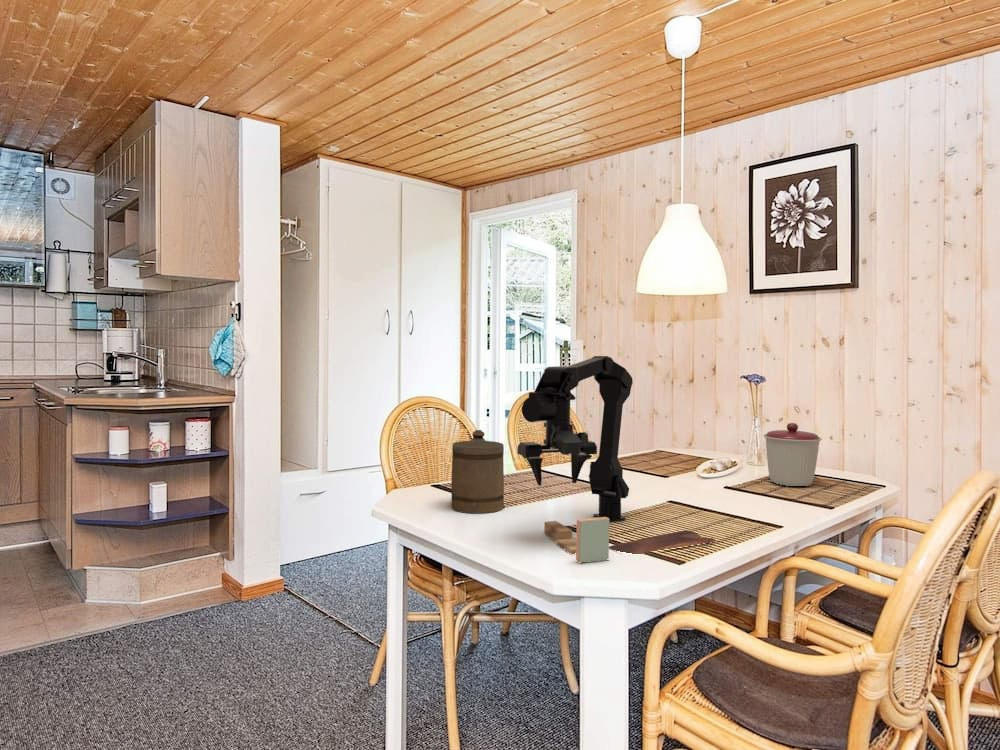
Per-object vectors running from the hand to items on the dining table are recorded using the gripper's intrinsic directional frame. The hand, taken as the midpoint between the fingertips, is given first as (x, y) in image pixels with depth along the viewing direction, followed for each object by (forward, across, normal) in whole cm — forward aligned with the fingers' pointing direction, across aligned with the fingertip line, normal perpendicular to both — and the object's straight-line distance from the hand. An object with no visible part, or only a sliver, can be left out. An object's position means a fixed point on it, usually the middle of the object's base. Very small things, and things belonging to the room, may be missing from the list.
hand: (556, 484), depth 155 cm
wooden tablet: (+13, +20, -14) cm, 28 cm away
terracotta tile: (+13, -1, -19) cm, 23 cm away
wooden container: (+13, -9, +33) cm, 37 cm away
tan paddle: (+13, 0, -5) cm, 14 cm away
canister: (+12, +103, +30) cm, 108 cm away
